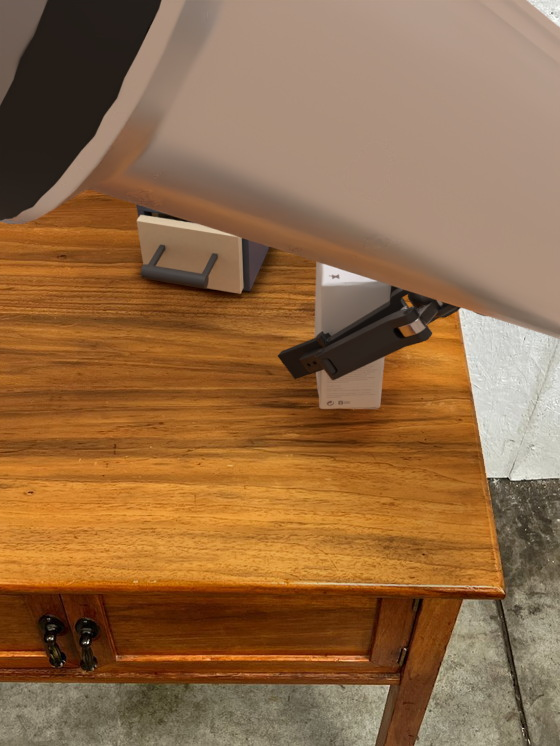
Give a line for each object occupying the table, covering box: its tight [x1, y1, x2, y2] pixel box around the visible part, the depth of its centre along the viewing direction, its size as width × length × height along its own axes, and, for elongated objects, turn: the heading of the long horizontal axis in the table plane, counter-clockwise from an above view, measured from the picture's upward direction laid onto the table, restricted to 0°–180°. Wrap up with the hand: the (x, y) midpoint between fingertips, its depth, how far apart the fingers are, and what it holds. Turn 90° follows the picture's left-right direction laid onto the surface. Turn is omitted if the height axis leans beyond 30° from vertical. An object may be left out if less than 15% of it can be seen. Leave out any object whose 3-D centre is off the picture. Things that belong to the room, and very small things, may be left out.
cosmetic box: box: [314, 261, 391, 410], centre depth 69 cm, size 8×6×15 cm
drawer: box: [136, 212, 244, 295], centre depth 88 cm, size 19×11×8 cm, turn 166°
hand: (318, 332), depth 72 cm, fingers closed on cosmetic box, 10 cm apart
